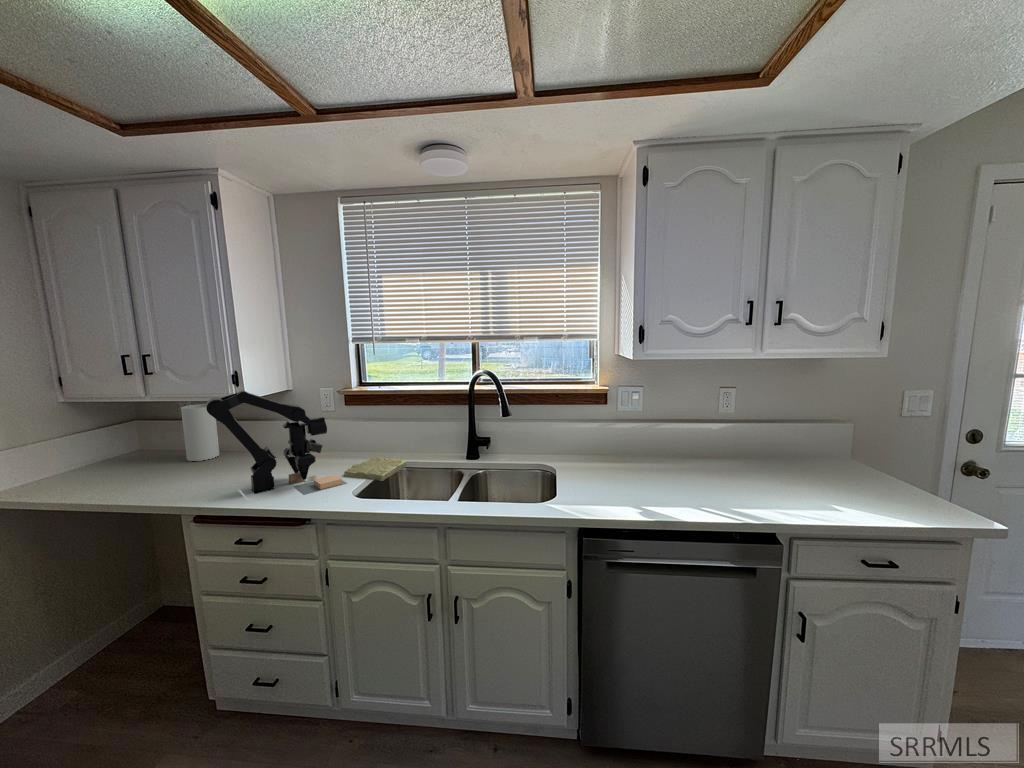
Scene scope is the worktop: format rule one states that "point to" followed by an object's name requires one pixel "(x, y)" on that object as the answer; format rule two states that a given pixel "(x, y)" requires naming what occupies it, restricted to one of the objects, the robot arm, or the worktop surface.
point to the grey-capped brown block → (299, 478)
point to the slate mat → (311, 487)
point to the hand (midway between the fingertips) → (300, 476)
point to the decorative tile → (376, 468)
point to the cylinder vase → (199, 433)
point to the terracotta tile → (327, 481)
